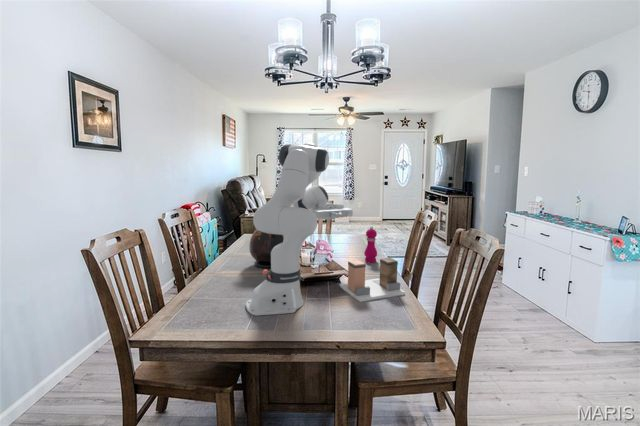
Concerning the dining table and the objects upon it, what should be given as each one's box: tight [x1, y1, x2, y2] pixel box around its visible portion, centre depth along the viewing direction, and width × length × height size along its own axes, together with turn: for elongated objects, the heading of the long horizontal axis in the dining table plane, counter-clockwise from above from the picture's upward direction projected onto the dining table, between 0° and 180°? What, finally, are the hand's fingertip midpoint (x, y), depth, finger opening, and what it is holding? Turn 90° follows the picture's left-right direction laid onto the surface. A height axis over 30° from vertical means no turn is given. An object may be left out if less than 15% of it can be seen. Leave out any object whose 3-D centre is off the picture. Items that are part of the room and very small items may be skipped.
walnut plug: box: [379, 257, 399, 288], centre depth 157 cm, size 5×6×12 cm
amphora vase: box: [248, 228, 284, 270], centre depth 191 cm, size 22×22×28 cm
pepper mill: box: [363, 226, 378, 264], centre depth 200 cm, size 7×7×20 cm
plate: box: [339, 277, 406, 303], centre depth 157 cm, size 22×19×4 cm
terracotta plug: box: [347, 259, 366, 292], centre depth 153 cm, size 5×6×12 cm
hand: (339, 215), depth 173 cm, fingers closed
